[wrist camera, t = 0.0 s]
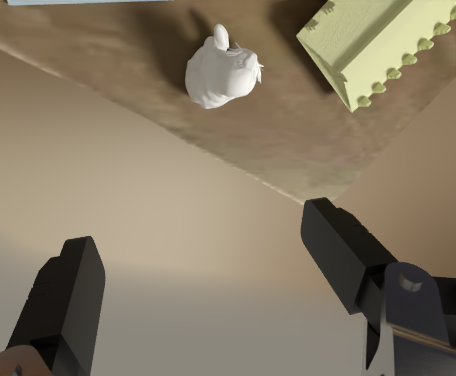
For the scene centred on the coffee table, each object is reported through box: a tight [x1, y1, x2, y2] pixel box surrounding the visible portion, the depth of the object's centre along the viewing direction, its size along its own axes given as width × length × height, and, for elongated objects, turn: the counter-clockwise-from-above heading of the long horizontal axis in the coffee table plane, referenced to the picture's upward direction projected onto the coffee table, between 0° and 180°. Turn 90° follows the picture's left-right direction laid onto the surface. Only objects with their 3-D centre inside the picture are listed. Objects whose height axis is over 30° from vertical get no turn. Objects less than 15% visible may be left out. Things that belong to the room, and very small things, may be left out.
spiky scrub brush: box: [296, 0, 456, 113], centre depth 34 cm, size 25×14×7 cm, turn 135°
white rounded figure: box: [185, 24, 264, 109], centre depth 31 cm, size 6×8×12 cm
